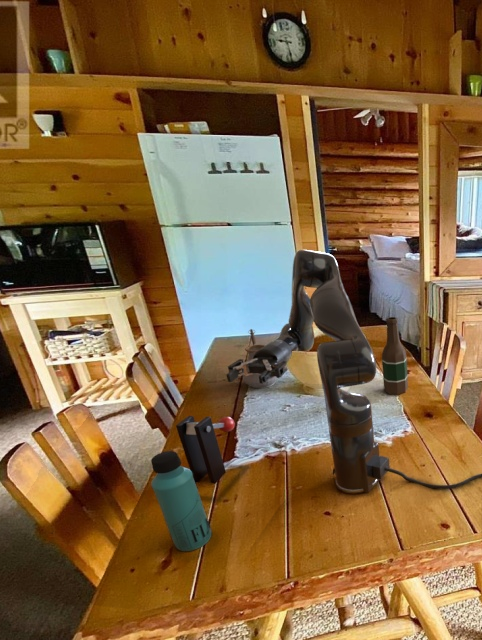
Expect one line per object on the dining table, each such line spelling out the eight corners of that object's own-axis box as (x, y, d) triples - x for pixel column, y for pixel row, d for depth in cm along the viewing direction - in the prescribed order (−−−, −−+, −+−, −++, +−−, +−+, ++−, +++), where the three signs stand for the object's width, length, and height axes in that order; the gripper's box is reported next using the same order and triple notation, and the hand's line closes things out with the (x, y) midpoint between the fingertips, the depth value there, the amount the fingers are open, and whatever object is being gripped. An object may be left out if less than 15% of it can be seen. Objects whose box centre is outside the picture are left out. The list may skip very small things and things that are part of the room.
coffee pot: (283, 387, 146) (275, 344, 139) (245, 393, 142) (235, 349, 135) (275, 365, 163) (268, 326, 156) (242, 370, 159) (233, 330, 152)
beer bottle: (412, 388, 144) (410, 317, 134) (398, 397, 139) (394, 323, 128) (394, 383, 148) (389, 313, 137) (379, 391, 142) (373, 319, 131)
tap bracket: (206, 465, 106) (189, 407, 99) (245, 467, 105) (231, 409, 98) (174, 496, 95) (151, 434, 88) (217, 500, 94) (198, 436, 87)
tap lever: (223, 430, 107) (223, 416, 107) (237, 431, 106) (238, 416, 106) (183, 437, 93) (183, 420, 92) (199, 437, 92) (199, 420, 92)
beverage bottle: (199, 560, 79) (166, 469, 70) (167, 555, 80) (131, 464, 71) (222, 535, 85) (195, 447, 76) (192, 530, 86) (162, 443, 77)
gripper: (247, 343, 125) (214, 364, 111) (295, 344, 123) (268, 367, 109) (252, 367, 128) (221, 391, 114) (299, 369, 127) (274, 394, 113)
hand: (244, 379), depth 112 cm, fingers open, 8 cm apart
